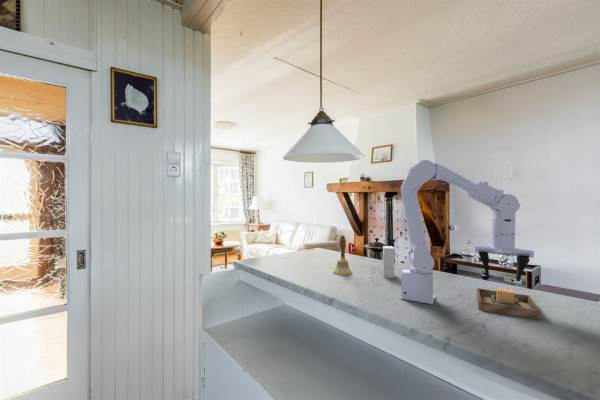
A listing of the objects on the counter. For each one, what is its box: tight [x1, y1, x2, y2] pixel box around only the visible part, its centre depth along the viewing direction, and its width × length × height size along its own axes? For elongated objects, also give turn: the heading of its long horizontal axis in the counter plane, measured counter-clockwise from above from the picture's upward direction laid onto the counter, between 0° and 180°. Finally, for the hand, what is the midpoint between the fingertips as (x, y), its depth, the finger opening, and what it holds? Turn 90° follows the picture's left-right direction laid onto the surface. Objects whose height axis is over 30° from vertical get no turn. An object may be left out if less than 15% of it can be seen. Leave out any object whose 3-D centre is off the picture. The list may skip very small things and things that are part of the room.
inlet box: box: [476, 287, 541, 321], centre depth 88 cm, size 14×14×2 cm
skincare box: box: [381, 245, 396, 279], centre depth 120 cm, size 6×4×12 cm
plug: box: [495, 286, 515, 304], centre depth 88 cm, size 4×4×4 cm
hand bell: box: [332, 235, 353, 276], centre depth 125 cm, size 8×8×16 cm
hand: (502, 278), depth 88 cm, fingers open, 7 cm apart
